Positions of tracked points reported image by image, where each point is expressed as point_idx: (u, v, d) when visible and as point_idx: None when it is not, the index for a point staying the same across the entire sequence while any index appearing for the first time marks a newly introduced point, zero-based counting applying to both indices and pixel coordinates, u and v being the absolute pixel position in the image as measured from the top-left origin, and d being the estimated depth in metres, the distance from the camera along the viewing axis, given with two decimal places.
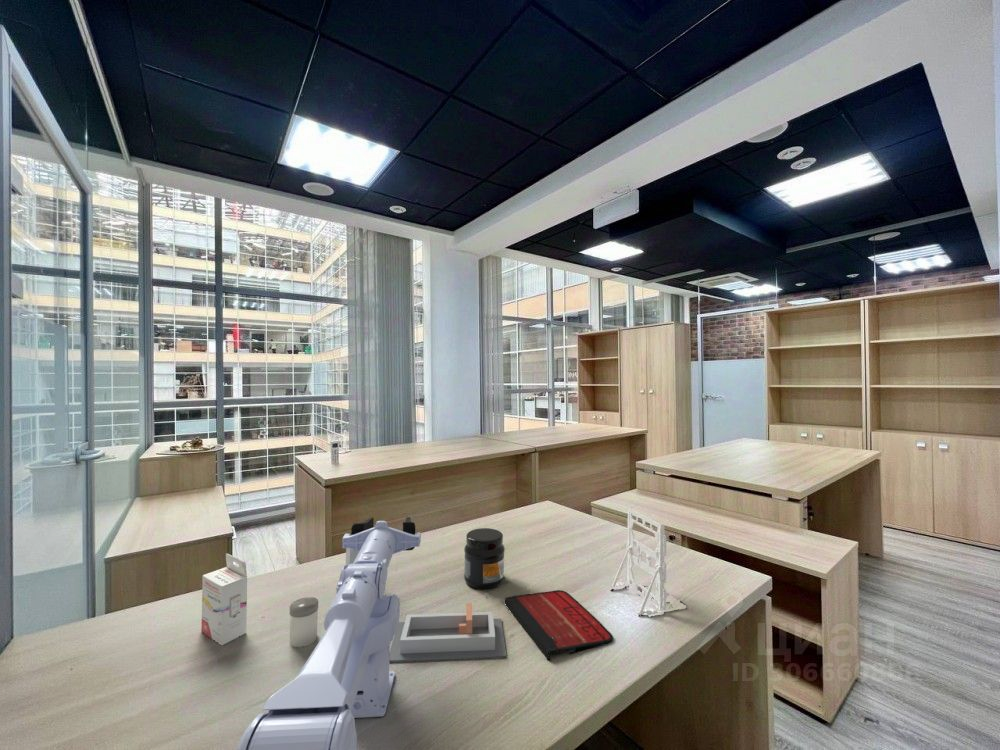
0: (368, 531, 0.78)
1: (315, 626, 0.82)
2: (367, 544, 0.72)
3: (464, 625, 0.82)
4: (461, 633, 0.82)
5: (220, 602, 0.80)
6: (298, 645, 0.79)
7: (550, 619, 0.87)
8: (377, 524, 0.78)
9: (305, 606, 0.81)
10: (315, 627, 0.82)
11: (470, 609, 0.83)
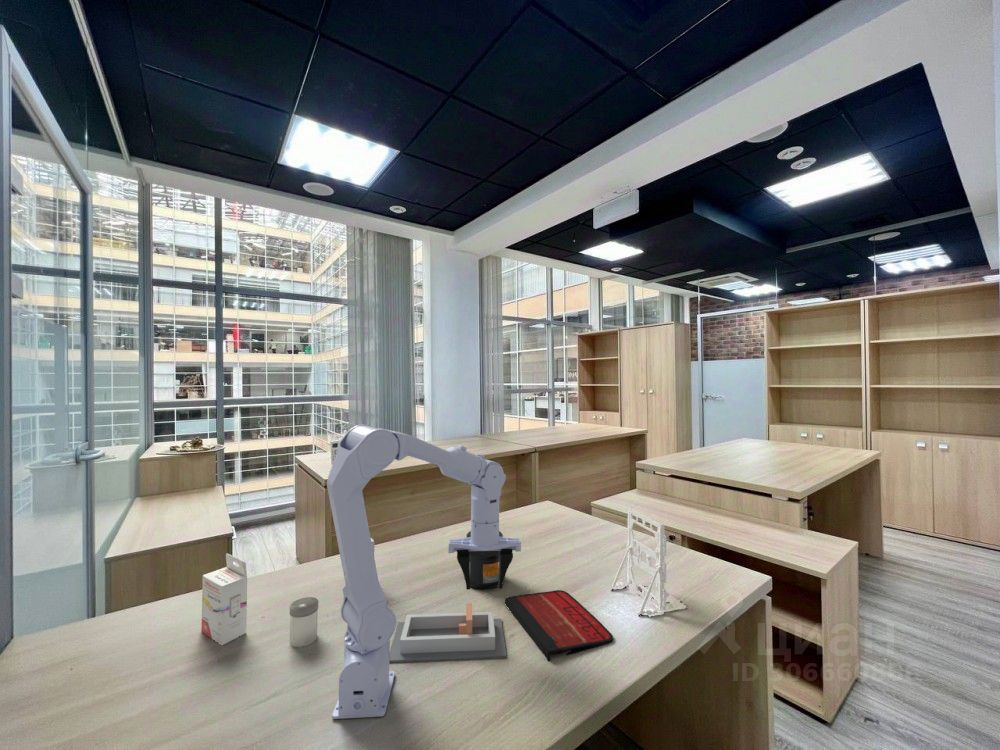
0: None
1: (315, 626, 0.82)
2: None
3: (464, 625, 0.82)
4: (461, 633, 0.82)
5: (220, 602, 0.80)
6: (298, 645, 0.79)
7: (550, 619, 0.87)
8: None
9: (306, 606, 0.81)
10: (315, 627, 0.82)
11: (470, 609, 0.83)
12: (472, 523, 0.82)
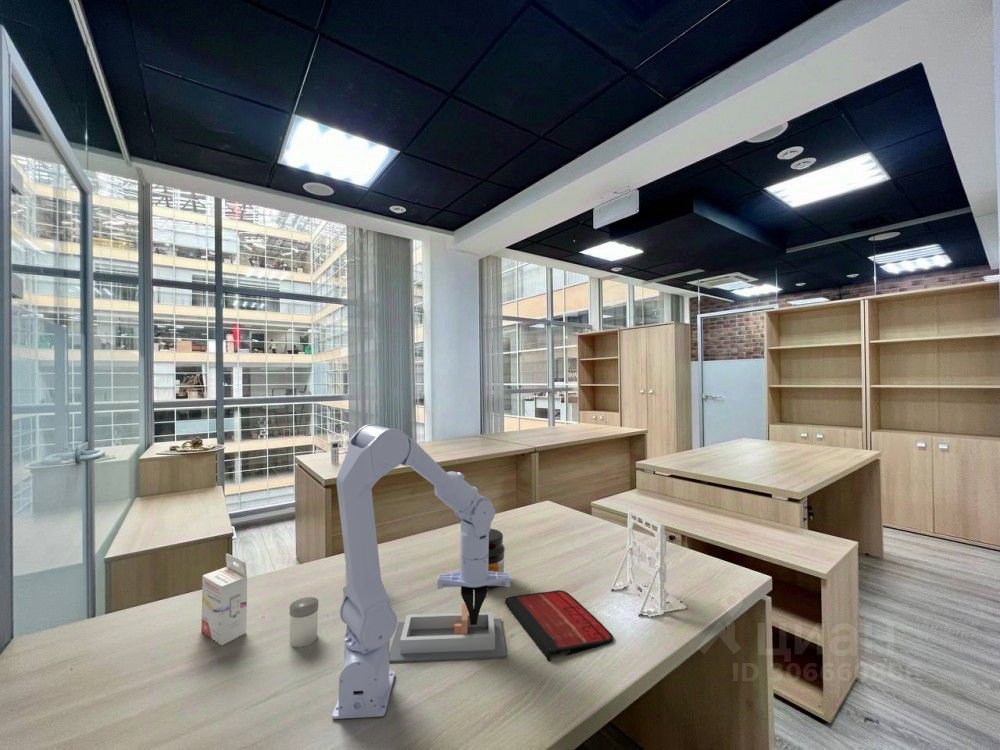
0: None
1: (315, 626, 0.82)
2: None
3: (459, 625, 0.82)
4: (456, 633, 0.82)
5: (220, 602, 0.80)
6: (298, 645, 0.79)
7: (550, 619, 0.87)
8: None
9: (306, 606, 0.81)
10: (315, 627, 0.82)
11: (466, 609, 0.83)
12: (461, 559, 0.81)
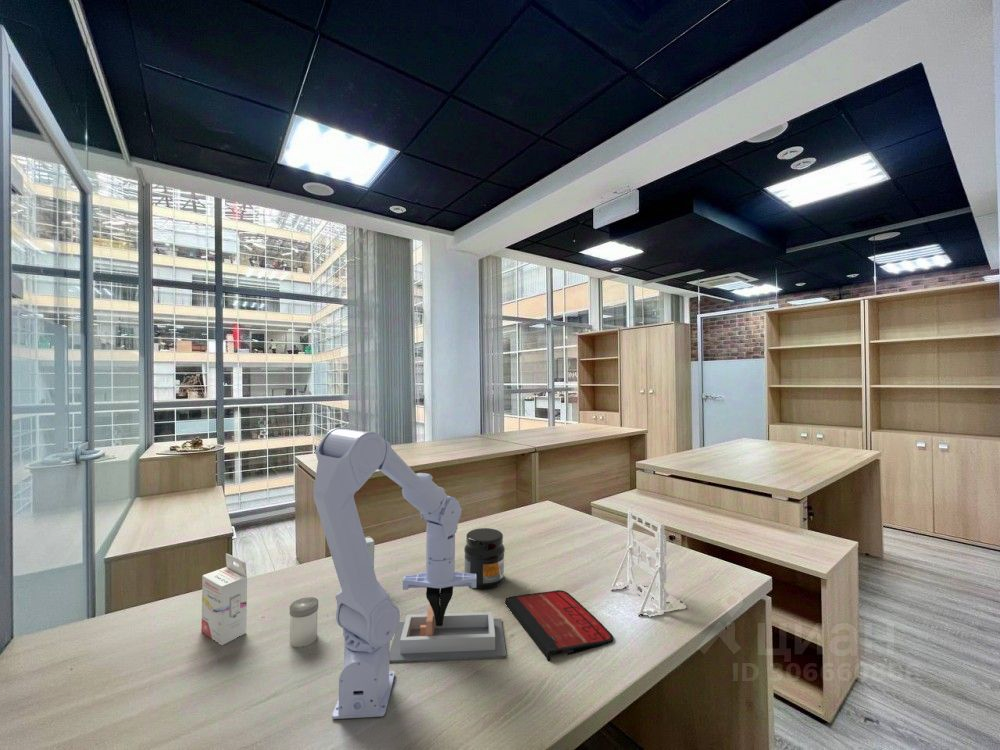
0: None
1: (315, 626, 0.82)
2: None
3: (425, 626, 0.82)
4: (422, 634, 0.81)
5: (220, 602, 0.80)
6: (298, 645, 0.79)
7: (550, 619, 0.87)
8: None
9: (305, 606, 0.81)
10: (315, 627, 0.82)
11: (432, 610, 0.83)
12: (427, 559, 0.81)
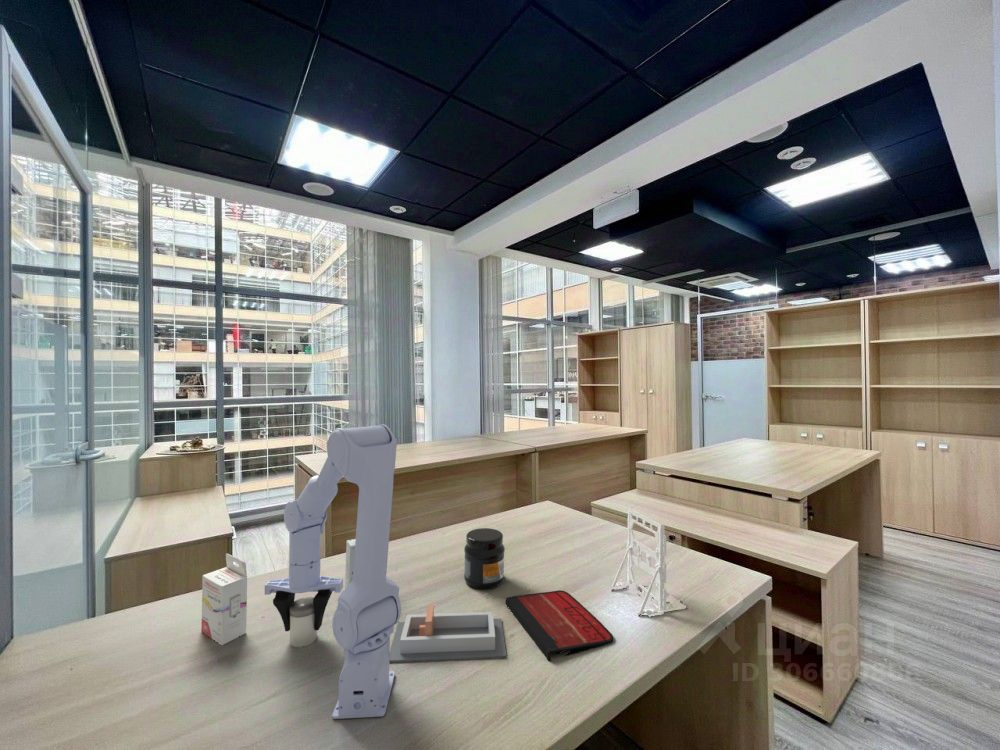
0: None
1: None
2: None
3: (424, 626, 0.82)
4: (421, 634, 0.81)
5: (220, 602, 0.80)
6: (298, 645, 0.79)
7: (550, 619, 0.87)
8: None
9: (305, 606, 0.81)
10: None
11: (431, 610, 0.83)
12: (289, 564, 0.81)
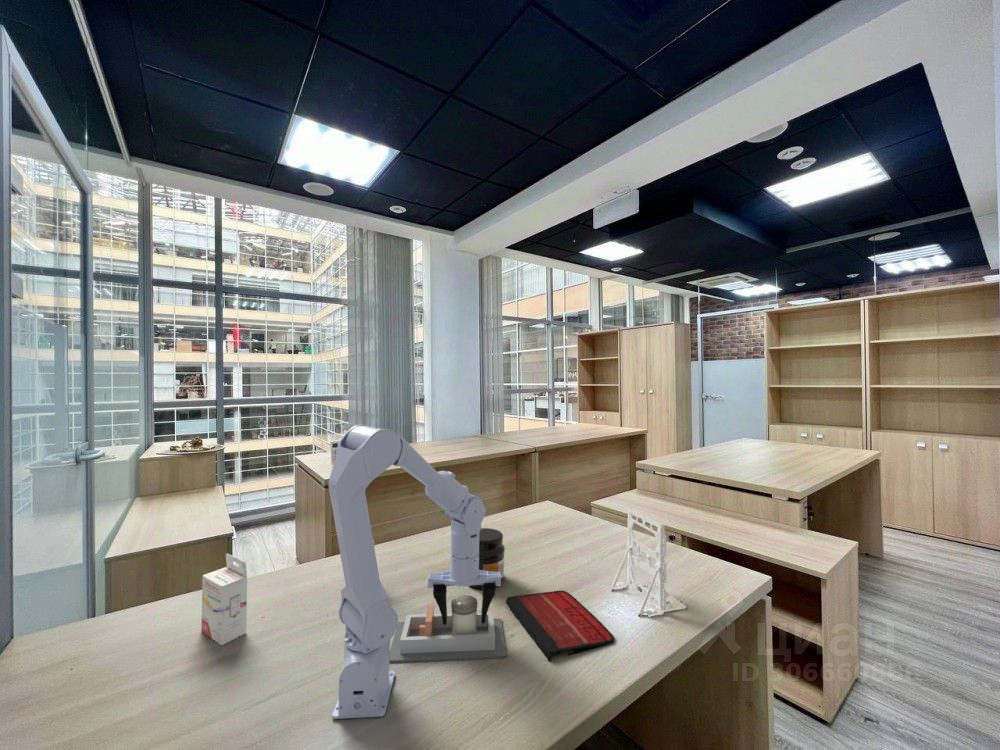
0: None
1: (476, 624, 0.82)
2: None
3: (424, 626, 0.82)
4: (421, 634, 0.81)
5: (220, 602, 0.80)
6: None
7: (551, 620, 0.87)
8: None
9: (468, 604, 0.82)
10: (476, 625, 0.82)
11: (431, 610, 0.83)
12: (451, 558, 0.81)
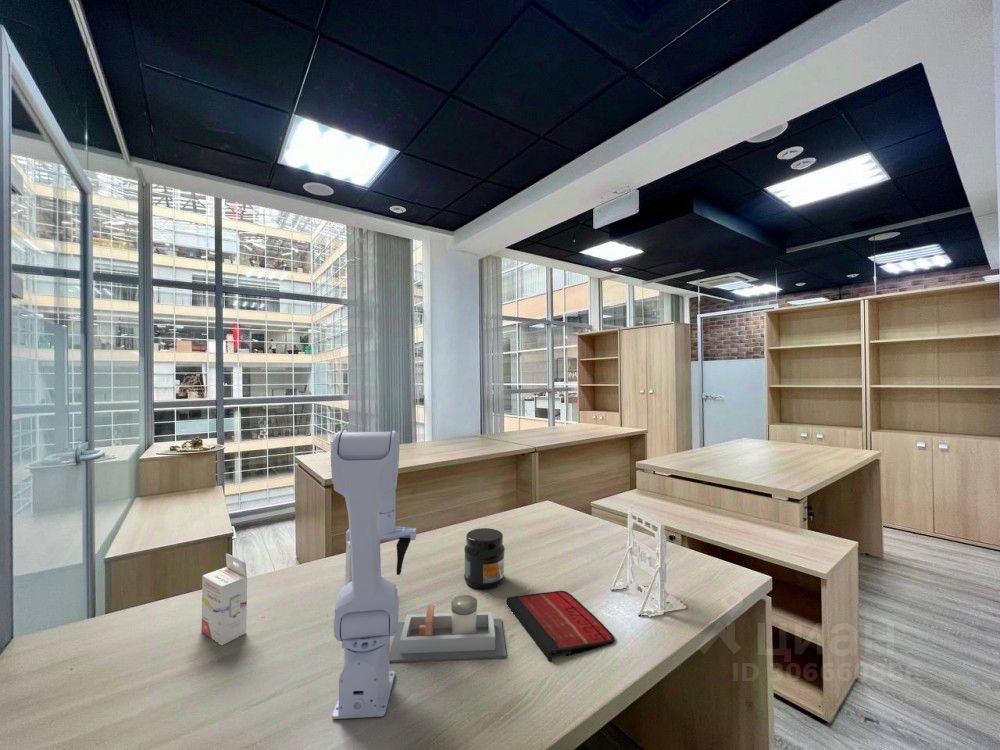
0: None
1: (475, 624, 0.82)
2: None
3: (424, 626, 0.82)
4: (421, 634, 0.81)
5: (220, 602, 0.80)
6: None
7: (551, 620, 0.87)
8: None
9: (468, 604, 0.82)
10: (475, 625, 0.82)
11: (431, 610, 0.83)
12: None
